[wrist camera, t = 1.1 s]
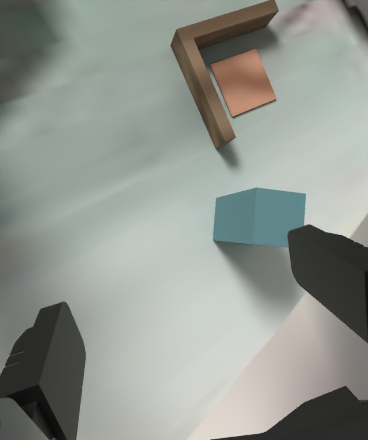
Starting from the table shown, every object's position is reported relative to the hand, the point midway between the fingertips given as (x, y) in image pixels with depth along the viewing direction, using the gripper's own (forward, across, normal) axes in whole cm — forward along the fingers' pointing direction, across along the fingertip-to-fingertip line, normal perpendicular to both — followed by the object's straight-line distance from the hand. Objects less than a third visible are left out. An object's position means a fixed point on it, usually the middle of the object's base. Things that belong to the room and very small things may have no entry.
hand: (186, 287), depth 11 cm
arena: (+30, -16, -7) cm, 34 cm away
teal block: (+24, -10, +8) cm, 28 cm away
